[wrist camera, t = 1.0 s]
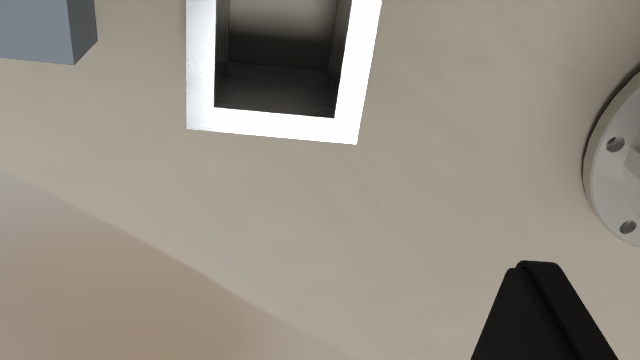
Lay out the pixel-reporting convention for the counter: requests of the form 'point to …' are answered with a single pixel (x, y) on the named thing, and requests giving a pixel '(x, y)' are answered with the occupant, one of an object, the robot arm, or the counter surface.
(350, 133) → the grey open box
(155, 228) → the counter surface
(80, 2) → the shaft block
